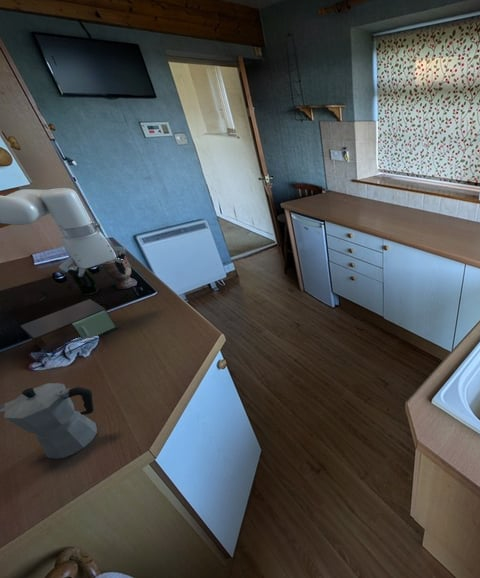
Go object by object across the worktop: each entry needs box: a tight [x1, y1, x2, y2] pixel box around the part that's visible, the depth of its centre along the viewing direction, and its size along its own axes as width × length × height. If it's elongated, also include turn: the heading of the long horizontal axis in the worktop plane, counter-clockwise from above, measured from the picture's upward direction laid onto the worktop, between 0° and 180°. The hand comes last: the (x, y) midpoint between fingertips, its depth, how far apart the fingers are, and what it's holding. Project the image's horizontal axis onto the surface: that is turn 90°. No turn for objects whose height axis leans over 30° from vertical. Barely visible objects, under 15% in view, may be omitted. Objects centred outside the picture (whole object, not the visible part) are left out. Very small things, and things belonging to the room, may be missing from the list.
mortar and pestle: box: [100, 254, 138, 290], centre depth 124 cm, size 12×9×20 cm
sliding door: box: [72, 310, 116, 339], centre depth 100 cm, size 9×2×7 cm, turn 151°
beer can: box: [68, 265, 100, 296], centre depth 122 cm, size 5×5×12 cm
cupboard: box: [20, 298, 120, 353], centre depth 99 cm, size 18×14×8 cm
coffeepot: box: [0, 382, 98, 460], centre depth 66 cm, size 15×9×18 cm, turn 111°
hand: (106, 278), depth 99 cm, fingers open, 9 cm apart
